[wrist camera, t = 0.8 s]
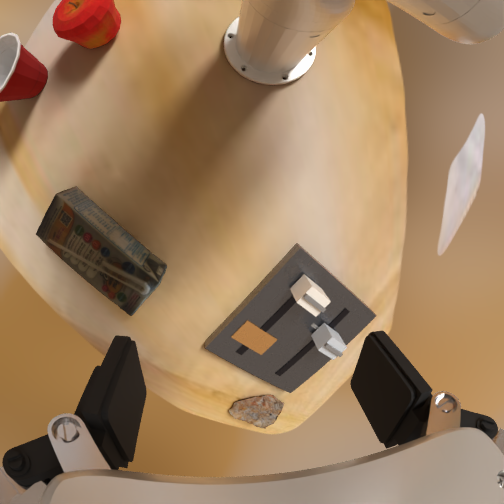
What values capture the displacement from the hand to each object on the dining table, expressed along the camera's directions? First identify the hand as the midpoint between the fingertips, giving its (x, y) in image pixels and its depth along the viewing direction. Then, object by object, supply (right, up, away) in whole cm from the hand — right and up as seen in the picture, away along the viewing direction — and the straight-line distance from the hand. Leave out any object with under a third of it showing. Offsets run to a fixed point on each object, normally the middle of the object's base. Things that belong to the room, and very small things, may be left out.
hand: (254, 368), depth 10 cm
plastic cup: (-34, +32, +17) cm, 50 cm away
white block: (+12, -9, +34) cm, 37 cm away
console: (+7, -8, +36) cm, 37 cm away
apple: (-22, +37, +16) cm, 46 cm away
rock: (+1, -27, +43) cm, 51 cm away
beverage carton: (-22, +6, +28) cm, 36 cm away
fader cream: (+8, -1, +31) cm, 32 cm away
